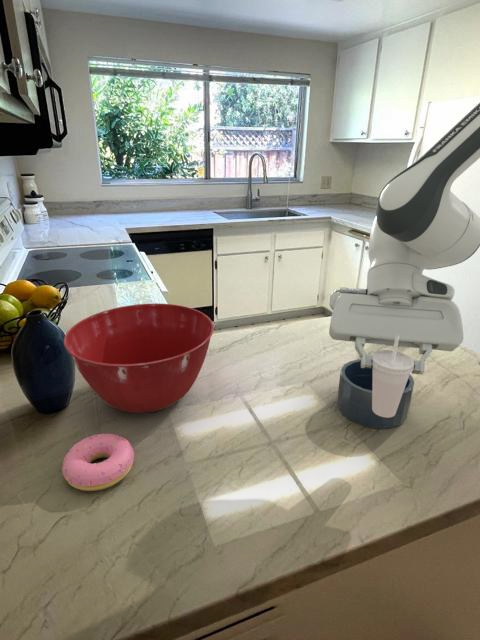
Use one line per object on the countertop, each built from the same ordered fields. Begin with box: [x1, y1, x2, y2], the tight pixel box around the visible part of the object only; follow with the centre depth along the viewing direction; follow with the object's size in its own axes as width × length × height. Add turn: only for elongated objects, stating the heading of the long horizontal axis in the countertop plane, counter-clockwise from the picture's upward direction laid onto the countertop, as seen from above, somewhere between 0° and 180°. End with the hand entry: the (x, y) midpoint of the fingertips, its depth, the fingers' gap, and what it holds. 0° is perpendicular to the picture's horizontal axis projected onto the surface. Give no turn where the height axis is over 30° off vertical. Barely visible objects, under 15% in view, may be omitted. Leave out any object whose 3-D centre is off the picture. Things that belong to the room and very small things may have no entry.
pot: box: [336, 358, 415, 430], centre depth 80 cm, size 14×14×8 cm
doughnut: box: [61, 432, 135, 492], centre depth 64 cm, size 11×11×4 cm
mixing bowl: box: [63, 302, 215, 414], centre depth 82 cm, size 28×28×16 cm
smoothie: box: [371, 335, 414, 418], centre depth 64 cm, size 6×6×14 cm
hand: (391, 370), depth 63 cm, fingers closed on smoothie, 6 cm apart
